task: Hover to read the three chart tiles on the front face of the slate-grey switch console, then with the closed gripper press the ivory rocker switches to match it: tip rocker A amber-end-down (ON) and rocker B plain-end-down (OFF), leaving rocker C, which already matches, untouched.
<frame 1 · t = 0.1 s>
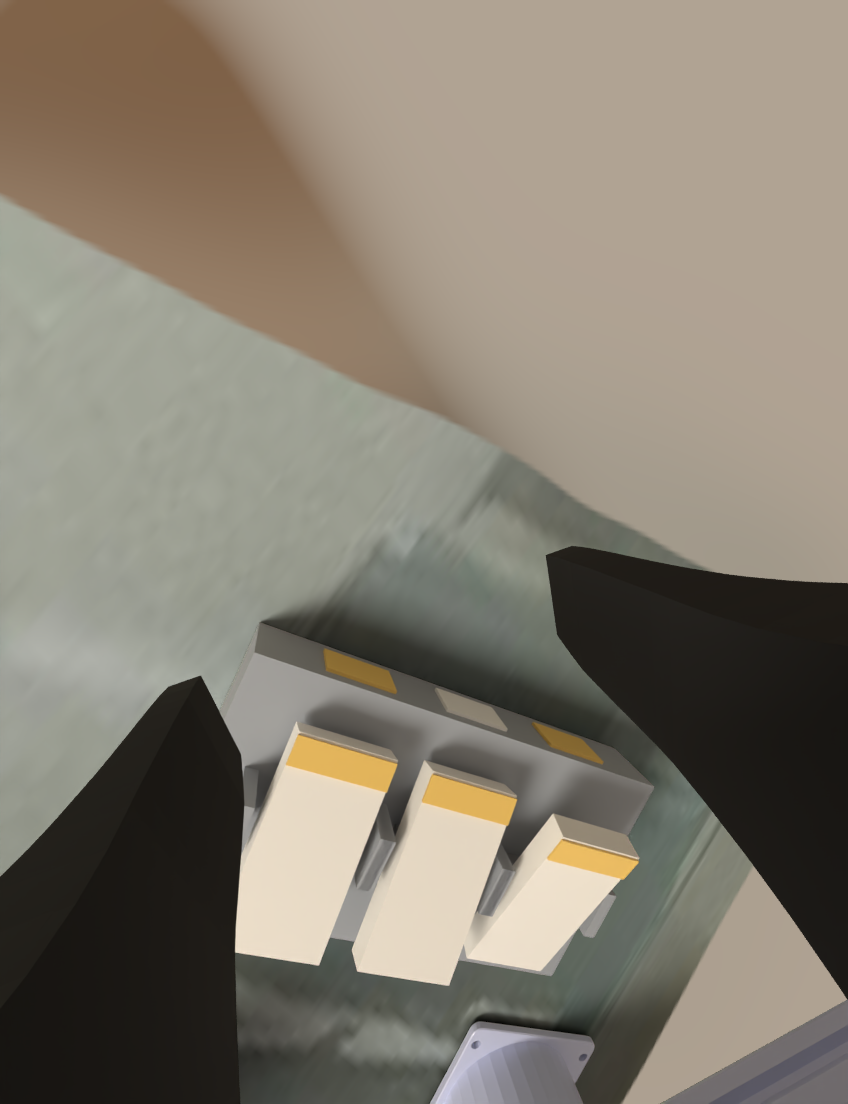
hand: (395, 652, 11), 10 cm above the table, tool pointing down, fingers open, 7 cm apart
rocker C: (307, 841, 18), point 5 cm above the table, hinge at 12.0°
rocker A: (546, 897, 21), point 5 cm above the table, hinge at -12.0°
console: (409, 790, 24), on the table
rocker B: (436, 871, 19), point 5 cm above the table, hinge at 12.0°
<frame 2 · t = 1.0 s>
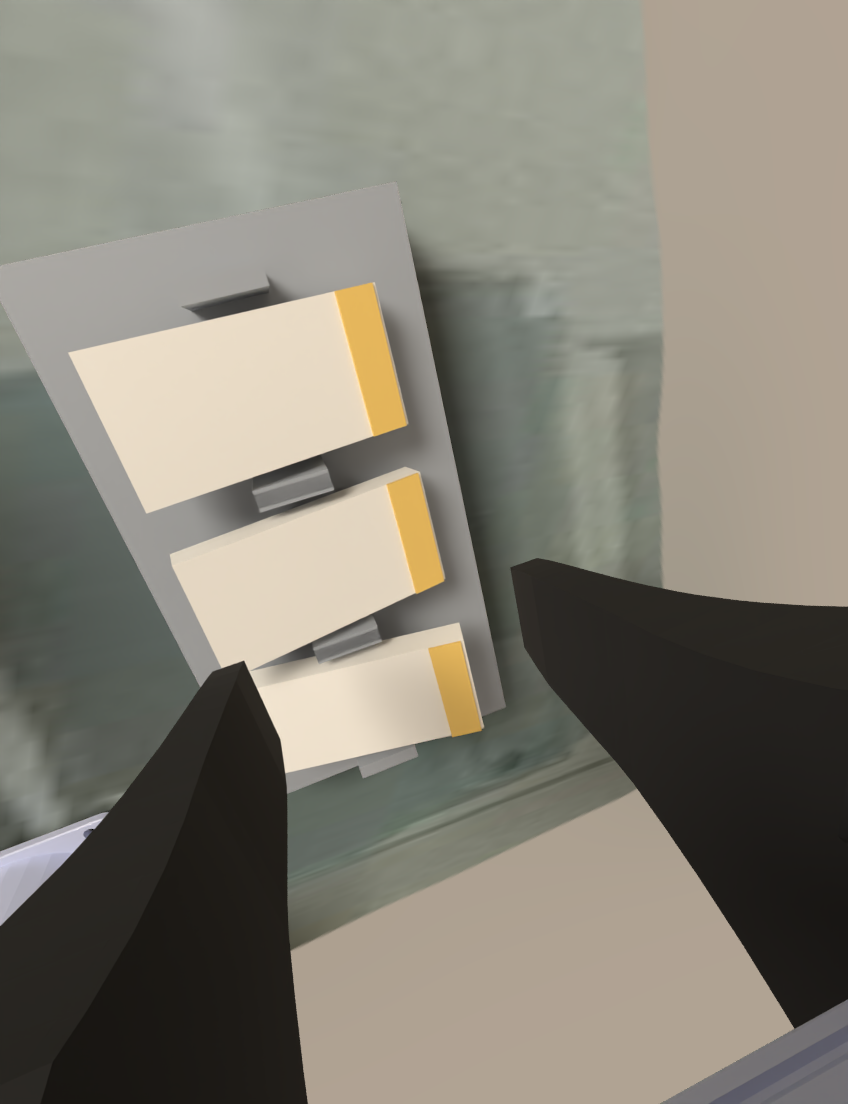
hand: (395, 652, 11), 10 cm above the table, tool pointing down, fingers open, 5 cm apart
rocker C: (260, 393, 13), point 5 cm above the table, hinge at 12.0°
rocker A: (367, 700, 17), point 5 cm above the table, hinge at -12.0°
console: (309, 519, 19), on the table
rocker B: (322, 568, 15), point 5 cm above the table, hinge at 12.0°
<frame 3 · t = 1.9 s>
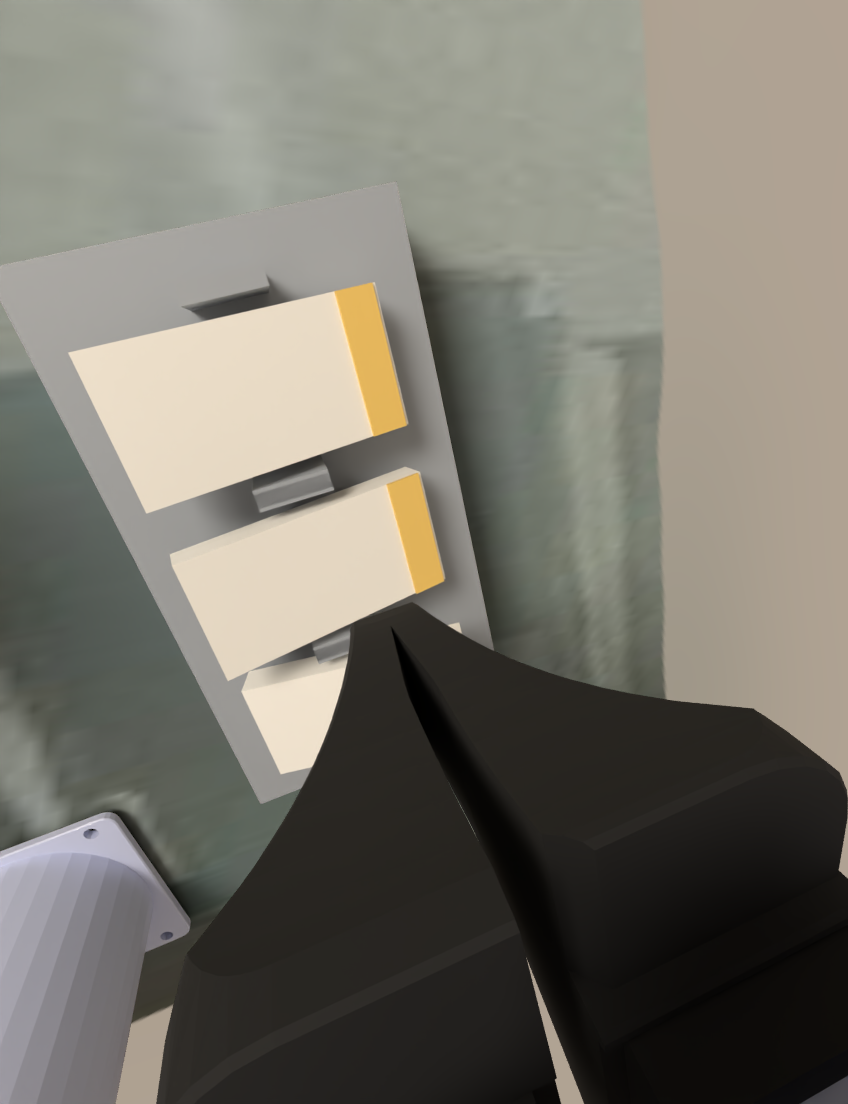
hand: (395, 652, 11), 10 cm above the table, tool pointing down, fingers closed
rocker C: (260, 393, 13), point 5 cm above the table, hinge at 12.0°
rocker A: (367, 700, 17), point 5 cm above the table, hinge at -12.0°
console: (309, 519, 19), on the table
rocker B: (322, 568, 15), point 5 cm above the table, hinge at 12.0°
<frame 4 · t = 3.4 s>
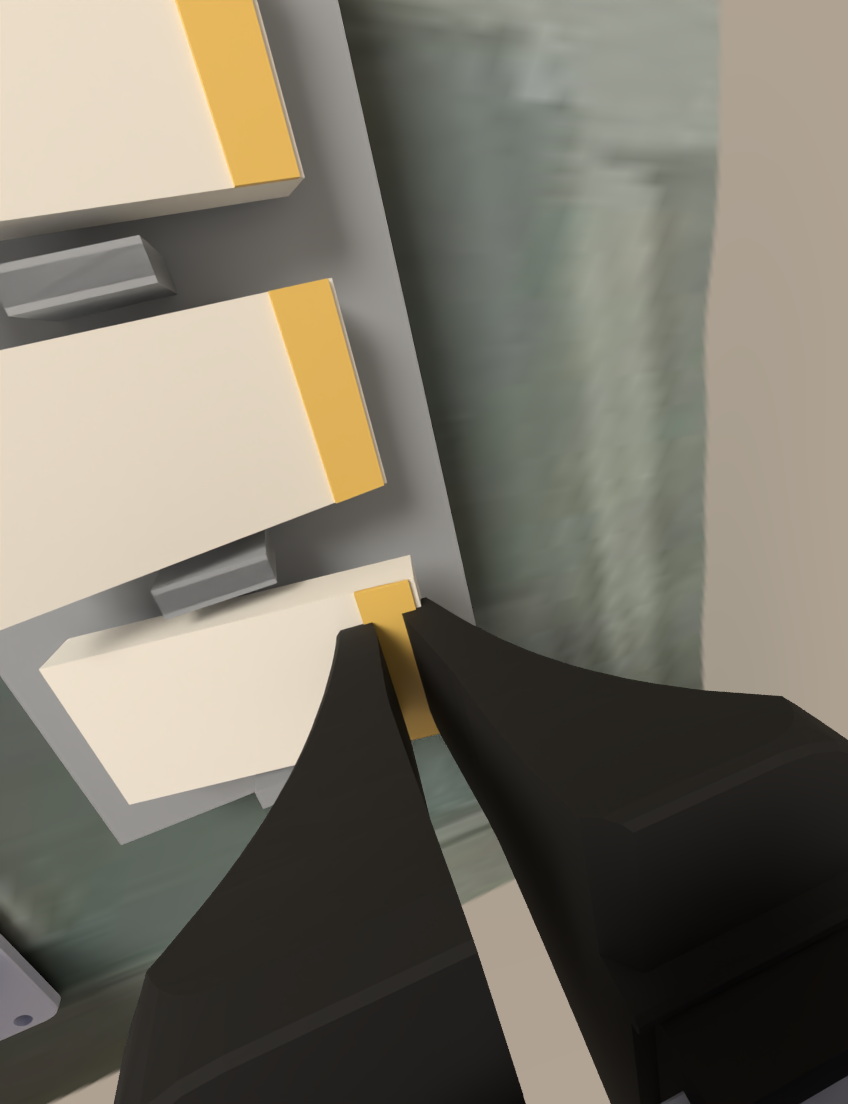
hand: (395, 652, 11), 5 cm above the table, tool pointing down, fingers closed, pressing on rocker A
rocker A: (264, 685, 11), point 5 cm above the table, hinge at -11.5°, touching gripper
console: (191, 413, 13), on the table
rocker B: (158, 446, 9), point 5 cm above the table, hinge at 12.0°
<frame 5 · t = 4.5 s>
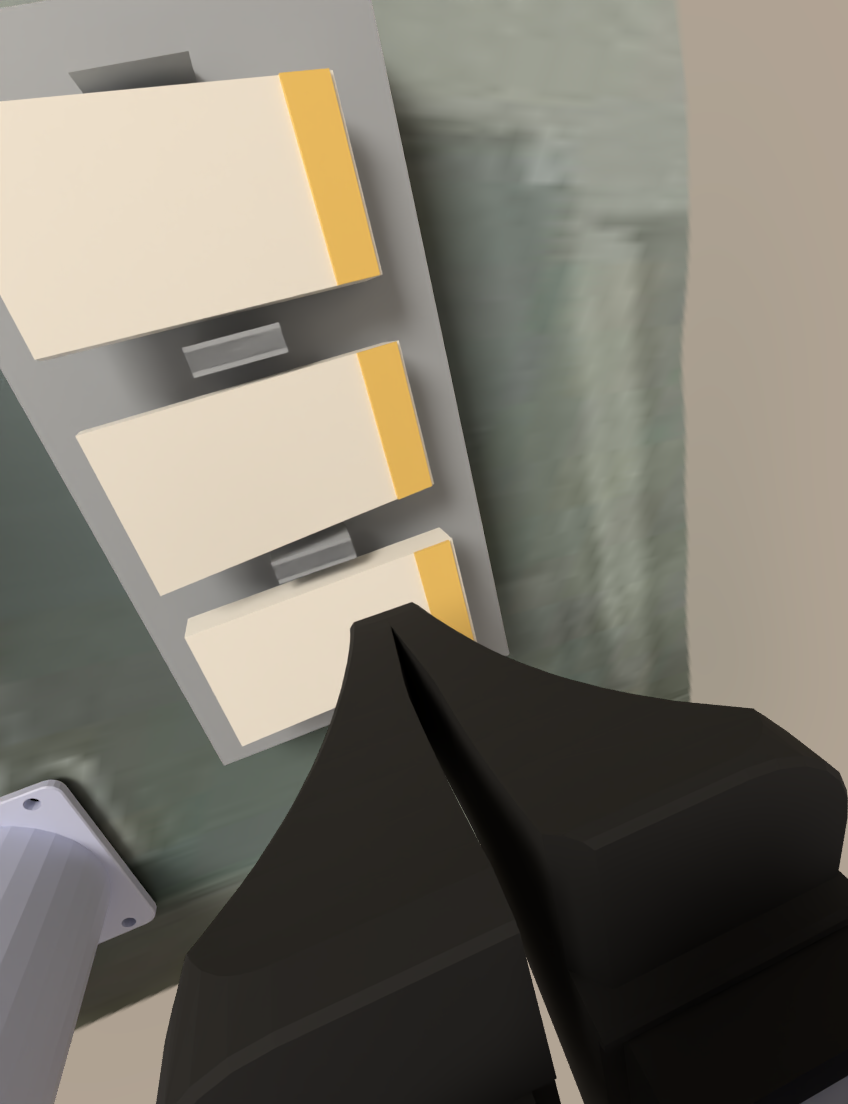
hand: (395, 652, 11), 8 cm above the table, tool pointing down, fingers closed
rocker C: (187, 215, 10), point 5 cm above the table, hinge at 12.0°
rocker A: (343, 635, 14), point 5 cm above the table, hinge at 2.7°
console: (275, 430, 16), on the table
rocker B: (279, 461, 12), point 5 cm above the table, hinge at 12.0°
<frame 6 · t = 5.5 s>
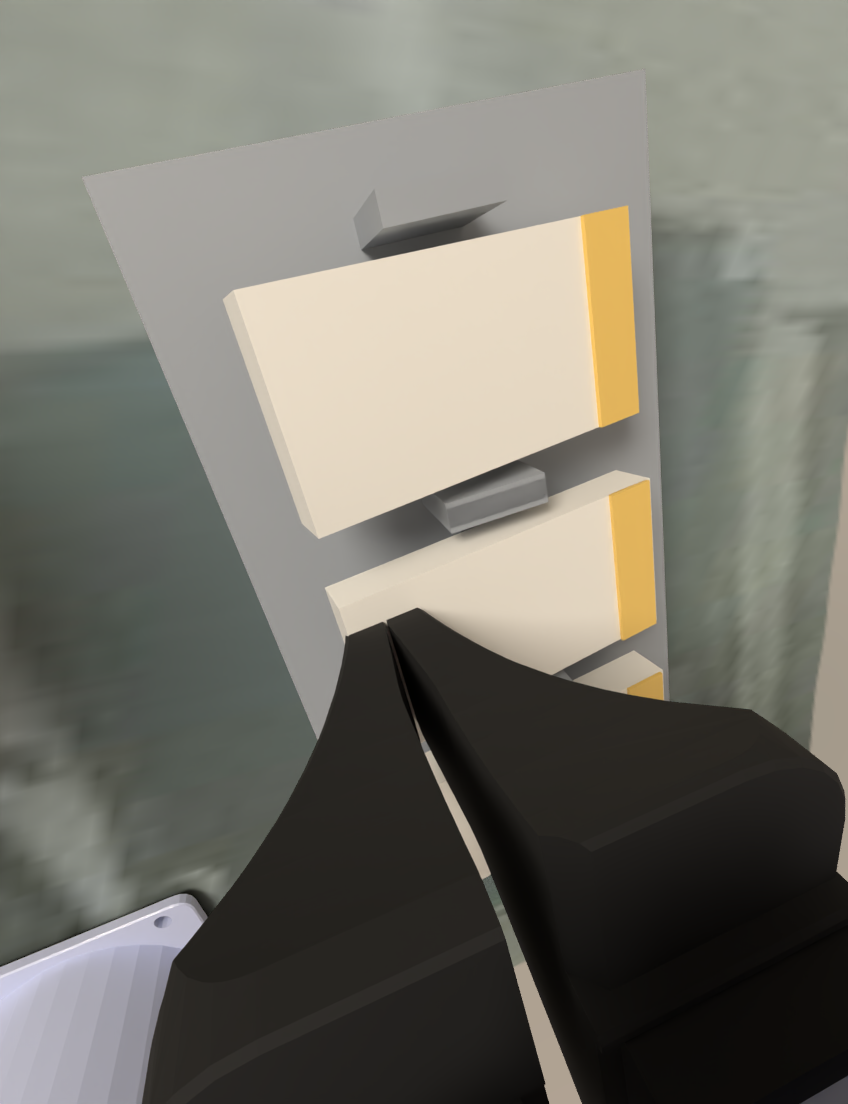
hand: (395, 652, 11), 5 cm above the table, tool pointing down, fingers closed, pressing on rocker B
rocker C: (466, 364, 9), point 5 cm above the table, hinge at 12.0°
rocker A: (541, 772, 13), point 5 cm above the table, hinge at 6.0°
console: (444, 535, 15), on the table
rocker B: (511, 606, 11), point 5 cm above the table, hinge at 8.3°, touching gripper
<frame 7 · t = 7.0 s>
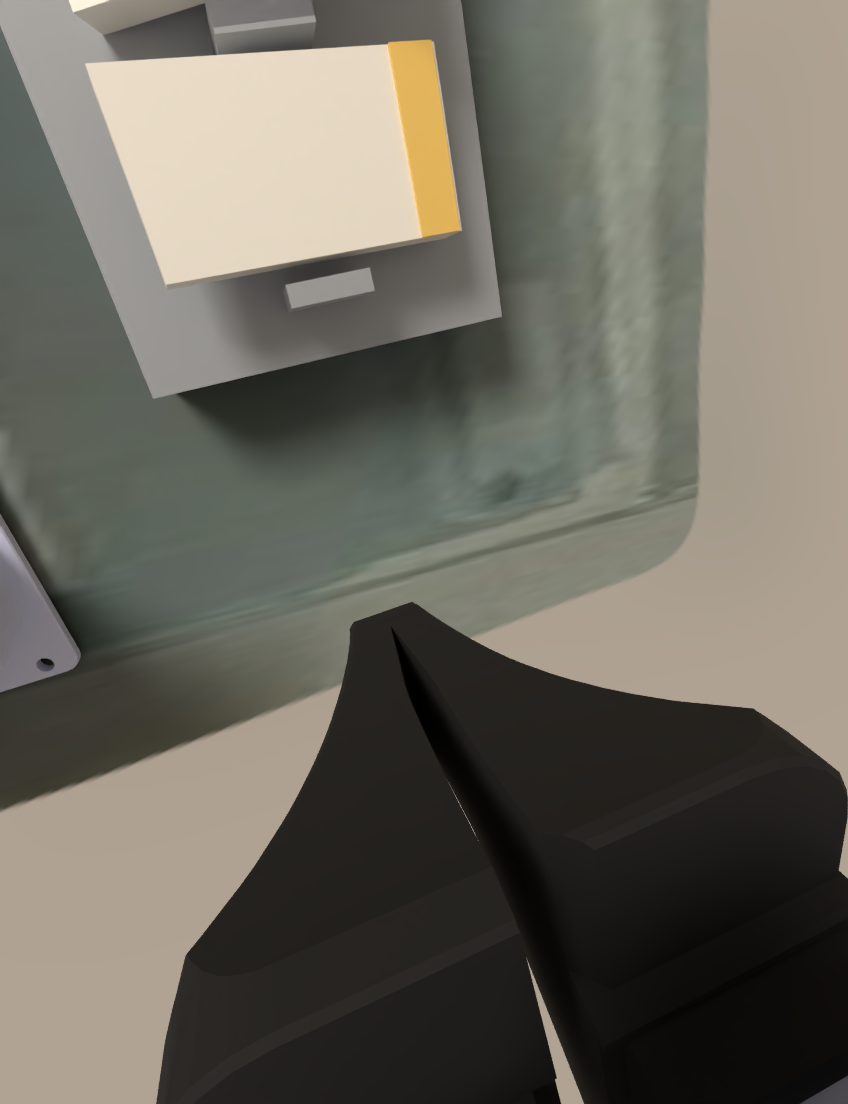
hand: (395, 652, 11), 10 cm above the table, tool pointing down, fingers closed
rocker A: (299, 166, 12), point 5 cm above the table, hinge at 7.7°
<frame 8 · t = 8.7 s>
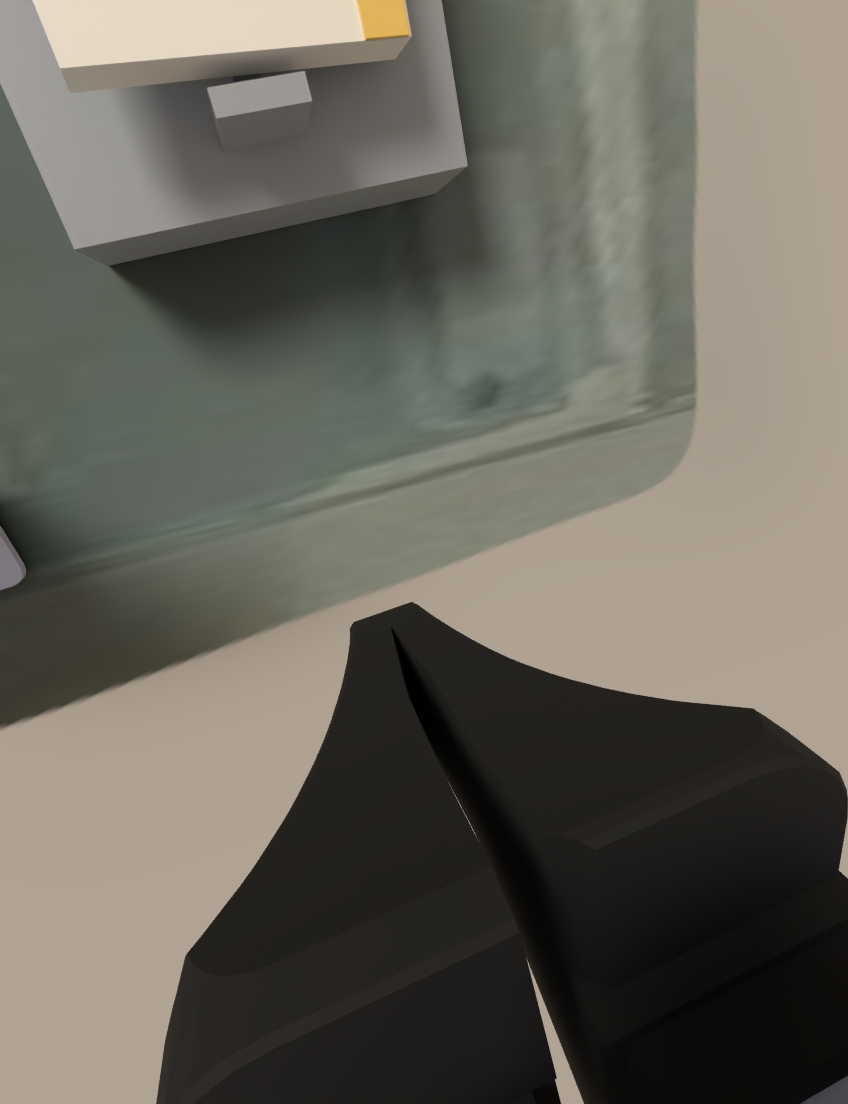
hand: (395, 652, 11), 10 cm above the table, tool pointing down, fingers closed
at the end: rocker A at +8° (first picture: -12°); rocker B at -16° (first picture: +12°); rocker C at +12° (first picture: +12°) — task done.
